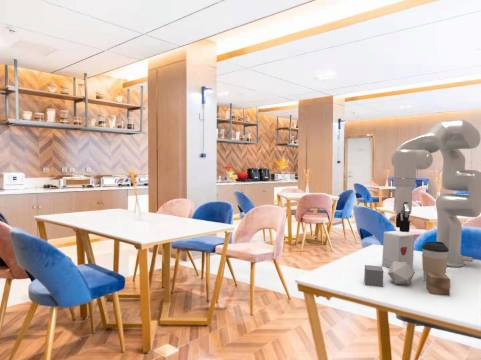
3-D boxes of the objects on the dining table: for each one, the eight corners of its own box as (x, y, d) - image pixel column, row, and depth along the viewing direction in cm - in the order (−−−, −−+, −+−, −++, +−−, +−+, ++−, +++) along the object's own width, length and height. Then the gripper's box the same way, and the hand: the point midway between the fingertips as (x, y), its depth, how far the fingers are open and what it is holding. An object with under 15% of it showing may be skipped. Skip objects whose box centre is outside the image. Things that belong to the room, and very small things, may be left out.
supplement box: (398, 271, 149) (399, 235, 148) (381, 265, 157) (382, 231, 156) (413, 268, 153) (415, 234, 152) (396, 263, 161) (398, 230, 160)
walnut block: (444, 290, 128) (445, 273, 127) (449, 296, 122) (450, 278, 122) (425, 288, 129) (426, 272, 129) (429, 294, 124) (430, 277, 123)
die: (411, 290, 128) (422, 267, 131) (389, 277, 130) (400, 254, 132) (401, 290, 136) (411, 268, 139) (380, 278, 137) (391, 256, 140)
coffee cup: (437, 287, 131) (439, 246, 130) (415, 279, 139) (416, 241, 138) (452, 283, 135) (454, 244, 134) (430, 276, 143) (431, 239, 142)
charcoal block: (381, 282, 135) (381, 266, 135) (382, 287, 130) (383, 271, 129) (364, 280, 137) (364, 264, 137) (365, 285, 131) (365, 269, 131)
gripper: (390, 181, 142) (388, 225, 143) (396, 183, 125) (394, 233, 126) (411, 182, 140) (409, 226, 141) (420, 184, 123) (418, 234, 124)
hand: (402, 229), depth 133 cm, fingers open, 8 cm apart
